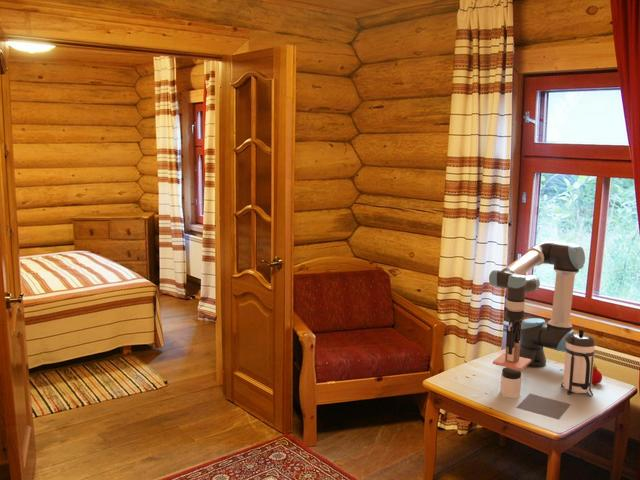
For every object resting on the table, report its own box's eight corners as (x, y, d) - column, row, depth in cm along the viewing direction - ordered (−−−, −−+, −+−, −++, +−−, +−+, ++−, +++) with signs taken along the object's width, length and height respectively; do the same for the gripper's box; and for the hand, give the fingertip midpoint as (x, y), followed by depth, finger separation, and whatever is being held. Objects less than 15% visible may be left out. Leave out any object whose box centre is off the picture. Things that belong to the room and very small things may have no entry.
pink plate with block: (503, 355, 279) (504, 336, 277) (531, 361, 271) (532, 342, 269) (492, 363, 268) (493, 344, 267) (521, 370, 261) (522, 350, 259)
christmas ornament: (584, 379, 289) (585, 360, 288) (600, 381, 287) (601, 361, 286) (586, 385, 283) (588, 365, 281) (602, 387, 281) (604, 367, 279)
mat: (529, 394, 273) (529, 393, 273) (570, 405, 262) (570, 404, 262) (516, 408, 259) (516, 407, 259) (558, 420, 248) (558, 419, 248)
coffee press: (551, 390, 278) (555, 328, 272) (571, 382, 287) (575, 322, 281) (586, 403, 264) (591, 339, 258) (605, 394, 273) (611, 332, 267)
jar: (508, 400, 267) (510, 375, 265) (496, 393, 274) (497, 368, 272) (524, 396, 271) (525, 372, 268) (511, 390, 278) (512, 365, 276)
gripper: (513, 303, 274) (510, 351, 278) (499, 312, 261) (497, 362, 265) (530, 306, 270) (526, 355, 274) (516, 315, 256) (513, 366, 260)
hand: (512, 359), depth 269 cm, fingers closed on pink plate with block, 4 cm apart
